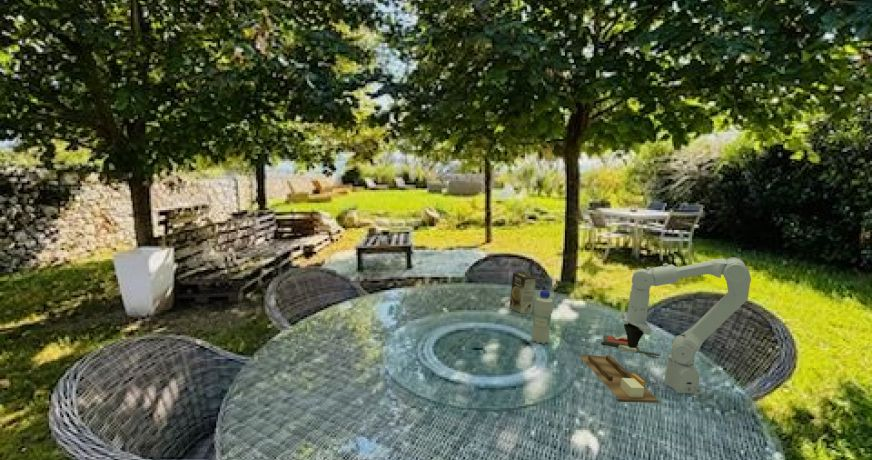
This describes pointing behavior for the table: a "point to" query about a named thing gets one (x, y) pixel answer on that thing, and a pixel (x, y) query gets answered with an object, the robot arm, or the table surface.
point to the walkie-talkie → (622, 344)
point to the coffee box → (522, 292)
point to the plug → (632, 387)
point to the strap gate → (637, 379)
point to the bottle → (542, 318)
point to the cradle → (614, 377)
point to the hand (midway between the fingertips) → (632, 347)
